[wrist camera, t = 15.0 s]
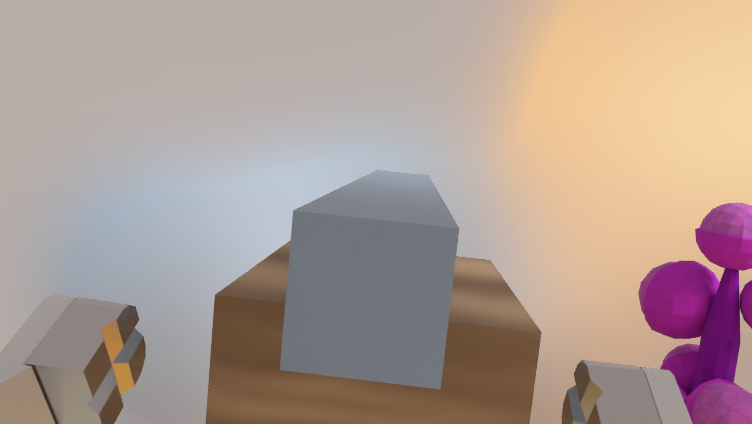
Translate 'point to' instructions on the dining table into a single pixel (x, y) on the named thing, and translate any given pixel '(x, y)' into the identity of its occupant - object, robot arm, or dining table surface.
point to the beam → (371, 282)
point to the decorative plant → (706, 316)
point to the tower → (361, 397)
